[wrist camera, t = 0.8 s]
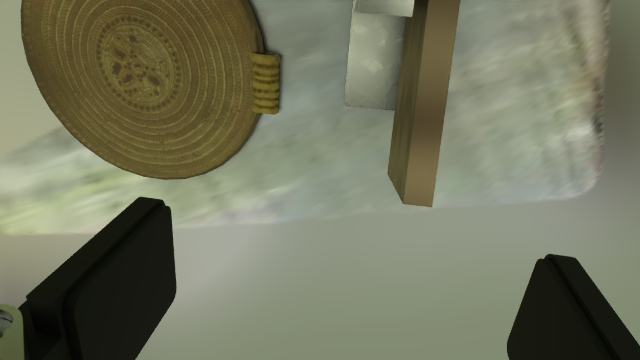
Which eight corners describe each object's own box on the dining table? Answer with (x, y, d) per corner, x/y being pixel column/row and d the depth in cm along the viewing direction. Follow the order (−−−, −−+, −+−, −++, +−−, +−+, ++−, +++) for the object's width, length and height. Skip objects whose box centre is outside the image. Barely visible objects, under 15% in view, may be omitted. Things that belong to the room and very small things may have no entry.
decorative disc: (-30, -87, 42) (267, -97, 37) (-2, -83, 45) (277, -92, 40) (52, 177, 54) (282, 194, 50) (70, 166, 57) (288, 181, 53)
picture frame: (418, -121, 34) (458, -284, 21) (446, -120, 34) (504, -283, 20) (384, 173, 38) (397, 203, 24) (409, 176, 38) (437, 207, 24)
